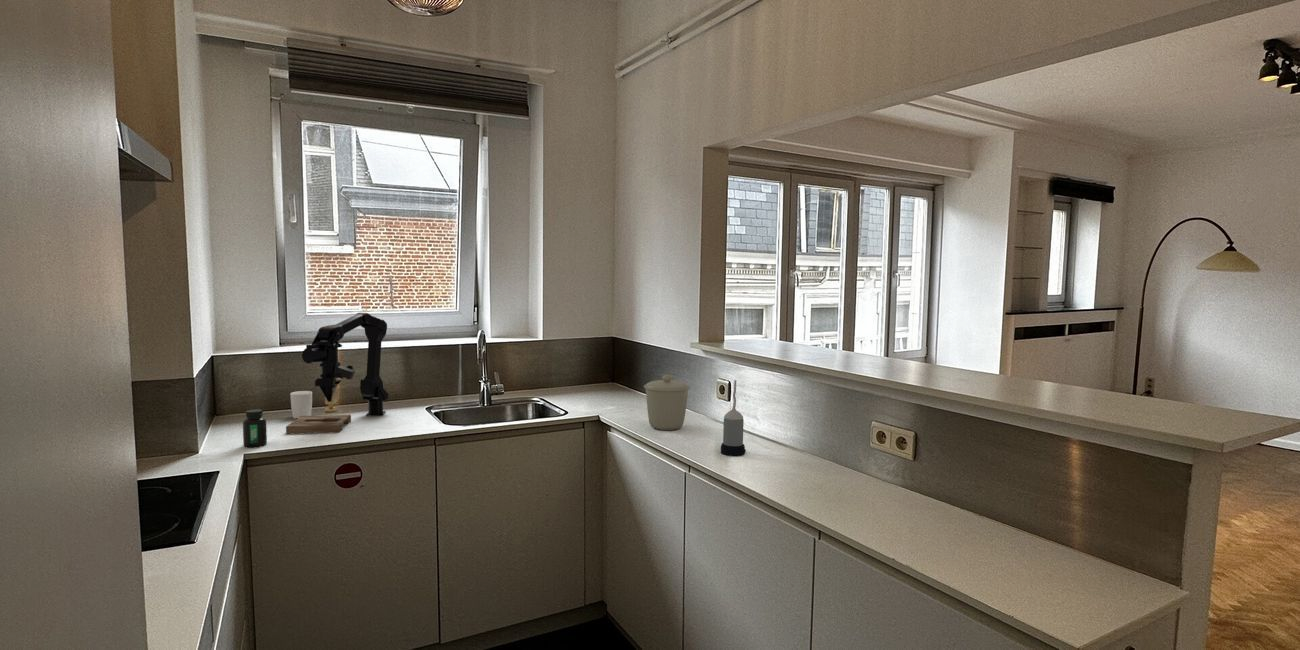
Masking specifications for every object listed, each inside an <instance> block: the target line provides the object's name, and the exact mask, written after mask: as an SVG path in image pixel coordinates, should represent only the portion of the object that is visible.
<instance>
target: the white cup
mask: <svg viewBox="0 0 1300 650" xmlns="http://www.w3.org/2000/svg"><path fill="white" fill-rule="evenodd" d="M289 394H290V405H291V406H290V407H291V412H292V418H293V419H296V418H299V417H300V416H311V415H312V410H313V409H312V408H313V391H311V390H298V391H293V392H290V393H289Z"/></svg>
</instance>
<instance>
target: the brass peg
mask: <svg viewBox="0 0 1300 650" xmlns="http://www.w3.org/2000/svg"><path fill="white" fill-rule="evenodd" d="M337 400H338V399H337V388H336V387H334V388H333V394H332V400H331V402H328V401H327V399H326V397H325V396H324V404H325V405H328V406H327V407H324V413H326V414H332V413H337V412H338V406H334V405H335V404H337Z"/></svg>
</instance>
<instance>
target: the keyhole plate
mask: <svg viewBox="0 0 1300 650" xmlns="http://www.w3.org/2000/svg"><path fill="white" fill-rule="evenodd" d="M351 422H352V415H351V414H349V413H348V414H317V415H314V414H313V415H312V414H311V416H300V417H299V418H297V419H296V418H295V420H293V421H292V422H290V423H289V424H287V425H286V426H285V434H286V435H289V434H288V433H304V434H328V433H327V432H334V433H340V432H342V431H343V425H349V424H350V423H351Z"/></svg>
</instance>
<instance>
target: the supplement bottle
mask: <svg viewBox="0 0 1300 650" xmlns="http://www.w3.org/2000/svg"><path fill="white" fill-rule="evenodd" d="M263 416H264V413H263V410H262V409H258V408H257V409H250V410H249V409H248V410H246V411H245V419H244V420H243V421H242V436H243V437H242V440H243V447H244V448H246V447H247V448H246V449H254V447H257V448H261V447H260V446H262V447H264V445H265V446H267V443H268V438H267V436H268V435H267V433H268V432H267V419H266V418H265V417H263Z"/></svg>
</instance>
